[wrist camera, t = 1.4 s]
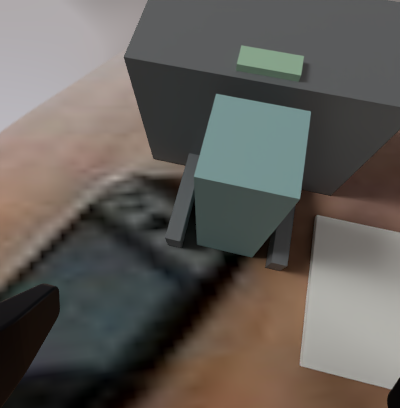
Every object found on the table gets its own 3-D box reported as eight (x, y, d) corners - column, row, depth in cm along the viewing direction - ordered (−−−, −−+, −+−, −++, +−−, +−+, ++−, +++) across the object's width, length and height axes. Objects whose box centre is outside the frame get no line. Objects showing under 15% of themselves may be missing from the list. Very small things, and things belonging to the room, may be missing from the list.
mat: (467, 408, 18) (474, 410, 18) (299, 365, 19) (301, 366, 18) (456, 247, 22) (462, 245, 21) (314, 217, 22) (317, 214, 22)
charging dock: (323, 281, 21) (430, 246, 11) (128, 235, 22) (70, 168, 12) (337, 120, 25) (421, -3, 16) (175, 90, 27) (161, -42, 17)
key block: (252, 257, 21) (299, 199, 11) (197, 244, 22) (193, 176, 11) (261, 205, 23) (311, 111, 12) (209, 194, 23) (216, 93, 13)
